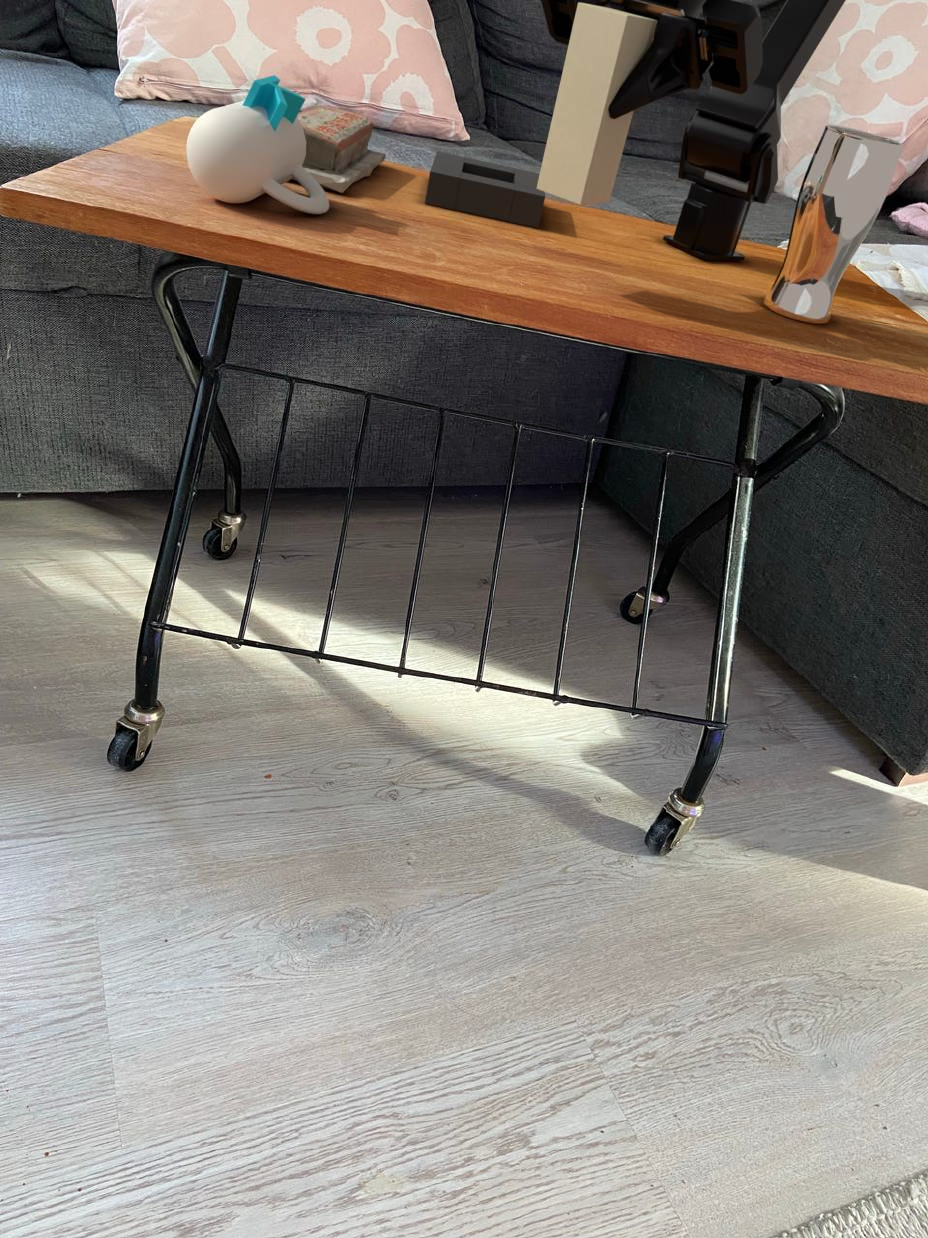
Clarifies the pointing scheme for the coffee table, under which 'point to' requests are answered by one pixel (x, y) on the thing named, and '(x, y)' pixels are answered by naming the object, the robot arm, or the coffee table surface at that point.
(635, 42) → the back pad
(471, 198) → the pad base
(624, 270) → the coffee table surface
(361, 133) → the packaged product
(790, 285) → the beer glass
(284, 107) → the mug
